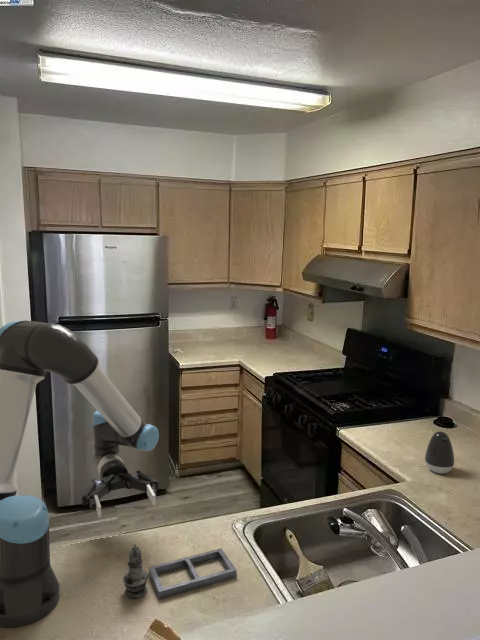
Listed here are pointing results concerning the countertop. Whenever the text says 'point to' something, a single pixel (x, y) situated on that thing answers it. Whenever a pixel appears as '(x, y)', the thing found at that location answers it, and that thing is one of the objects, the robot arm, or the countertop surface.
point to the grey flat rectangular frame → (191, 573)
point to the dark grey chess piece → (135, 575)
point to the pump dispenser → (440, 453)
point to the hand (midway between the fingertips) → (127, 506)
